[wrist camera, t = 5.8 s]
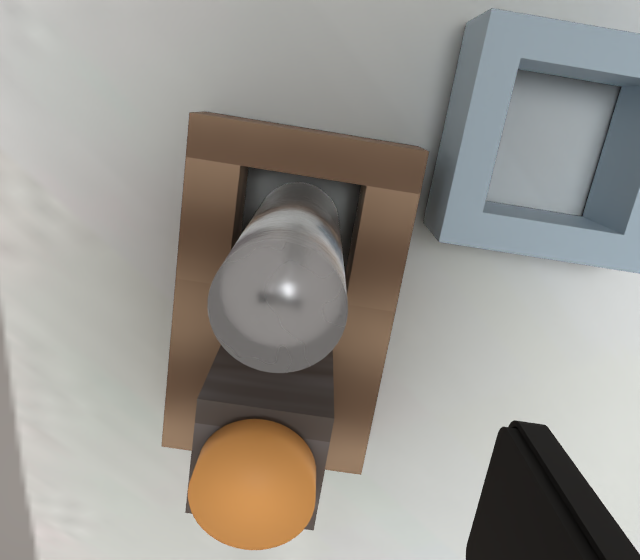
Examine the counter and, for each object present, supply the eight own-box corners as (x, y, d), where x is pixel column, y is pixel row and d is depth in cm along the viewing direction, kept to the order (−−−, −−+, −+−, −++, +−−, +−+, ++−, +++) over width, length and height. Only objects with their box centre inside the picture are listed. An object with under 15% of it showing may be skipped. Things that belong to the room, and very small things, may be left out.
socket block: (204, 111, 26) (144, 115, 17) (417, 146, 26) (461, 167, 18) (176, 414, 31) (118, 535, 22) (357, 440, 31) (369, 569, 22)
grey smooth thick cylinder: (262, 175, 27) (214, 230, 15) (345, 189, 27) (359, 253, 15) (252, 256, 28) (201, 362, 17) (332, 268, 28) (335, 381, 17)
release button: (230, 342, 26) (193, 434, 19) (325, 356, 26) (324, 453, 19) (220, 425, 27) (183, 541, 20) (310, 438, 27) (305, 557, 20)
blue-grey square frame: (466, 22, 25) (491, 8, 21) (664, 56, 25) (725, 48, 21) (423, 222, 27) (438, 241, 24) (603, 250, 28) (647, 274, 24)
